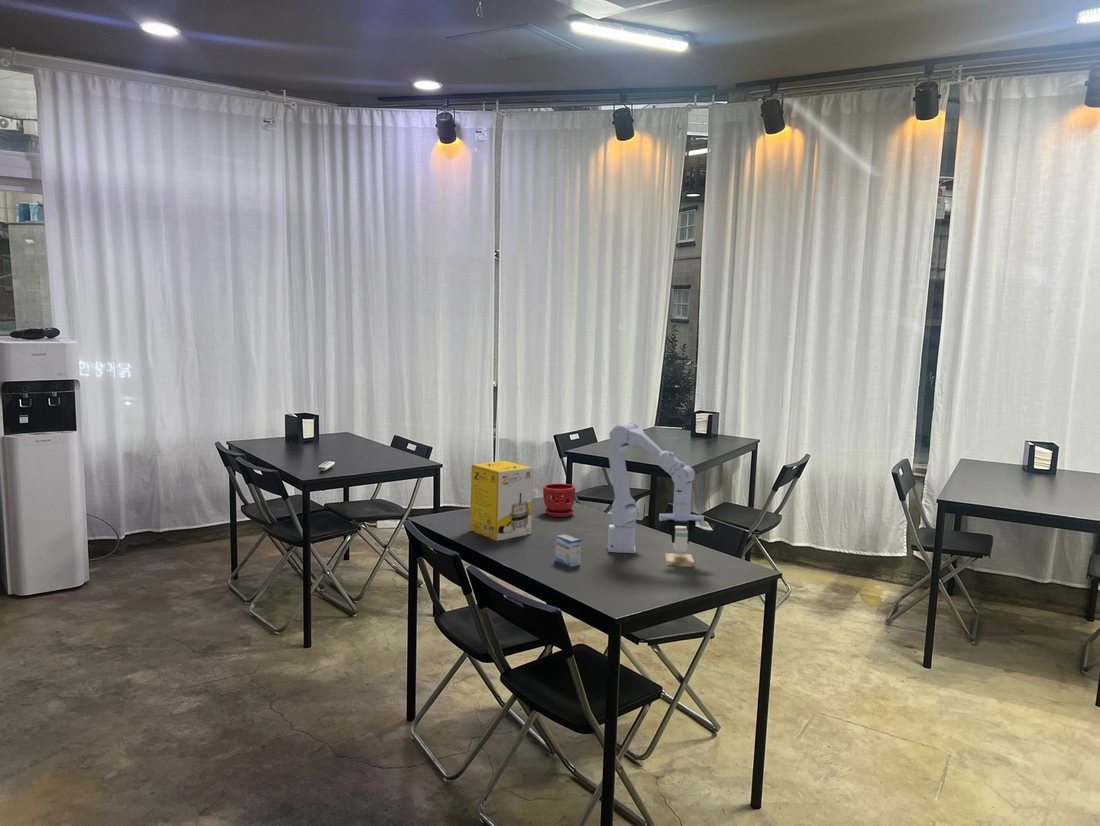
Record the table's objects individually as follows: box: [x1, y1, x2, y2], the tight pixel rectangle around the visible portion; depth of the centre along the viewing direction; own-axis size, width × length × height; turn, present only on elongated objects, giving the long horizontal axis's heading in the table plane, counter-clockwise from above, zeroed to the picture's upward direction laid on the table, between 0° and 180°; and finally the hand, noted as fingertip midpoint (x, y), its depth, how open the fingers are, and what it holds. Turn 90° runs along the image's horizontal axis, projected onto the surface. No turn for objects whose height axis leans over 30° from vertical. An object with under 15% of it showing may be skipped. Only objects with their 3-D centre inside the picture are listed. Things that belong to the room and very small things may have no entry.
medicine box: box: [554, 533, 582, 568], centre depth 260 cm, size 8×4×9 cm, turn 40°
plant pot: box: [542, 483, 576, 518], centre depth 323 cm, size 13×13×12 cm
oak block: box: [663, 552, 696, 568], centre depth 265 cm, size 9×9×2 cm
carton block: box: [672, 525, 688, 553], centre depth 264 cm, size 4×6×7 cm
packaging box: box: [469, 460, 534, 542], centre depth 293 cm, size 16×16×25 cm
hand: (680, 542), depth 265 cm, fingers closed on carton block, 4 cm apart
